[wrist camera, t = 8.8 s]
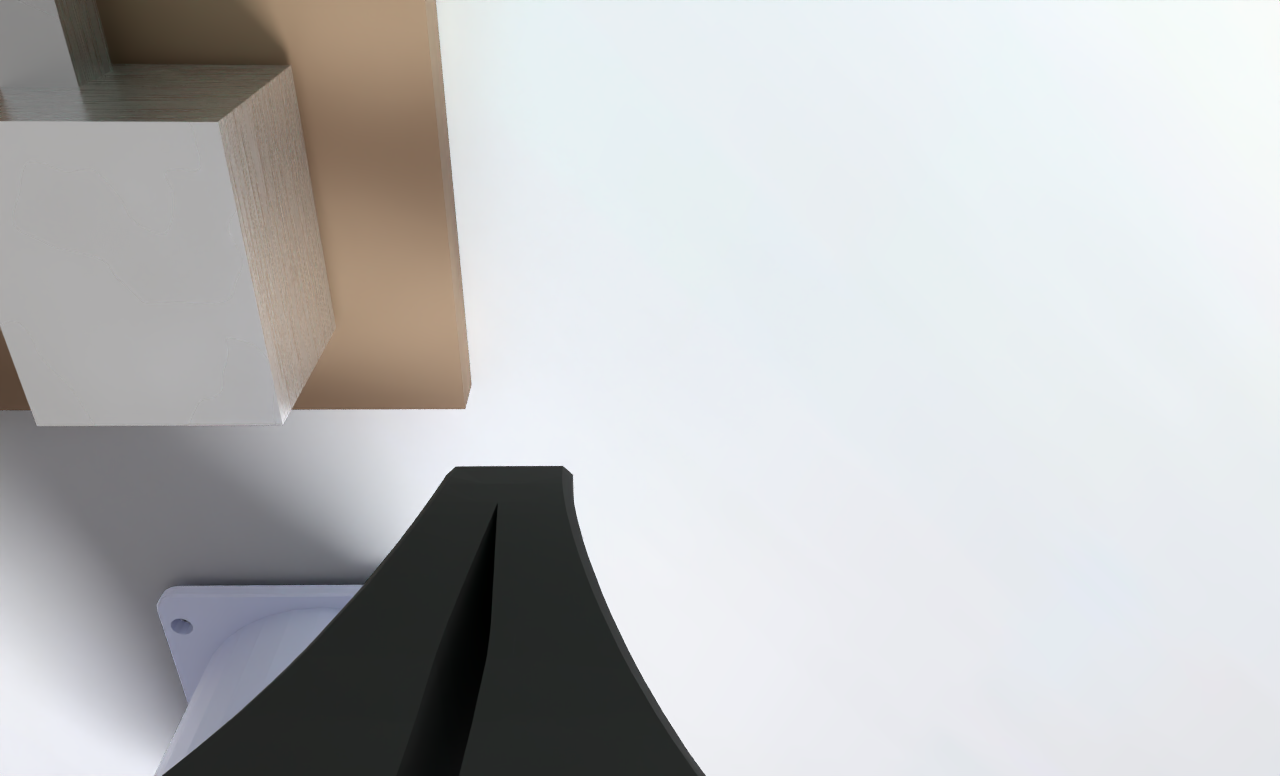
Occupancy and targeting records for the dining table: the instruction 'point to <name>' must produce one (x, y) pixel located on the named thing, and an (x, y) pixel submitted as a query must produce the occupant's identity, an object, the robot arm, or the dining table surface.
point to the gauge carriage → (152, 232)
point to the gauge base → (344, 179)
